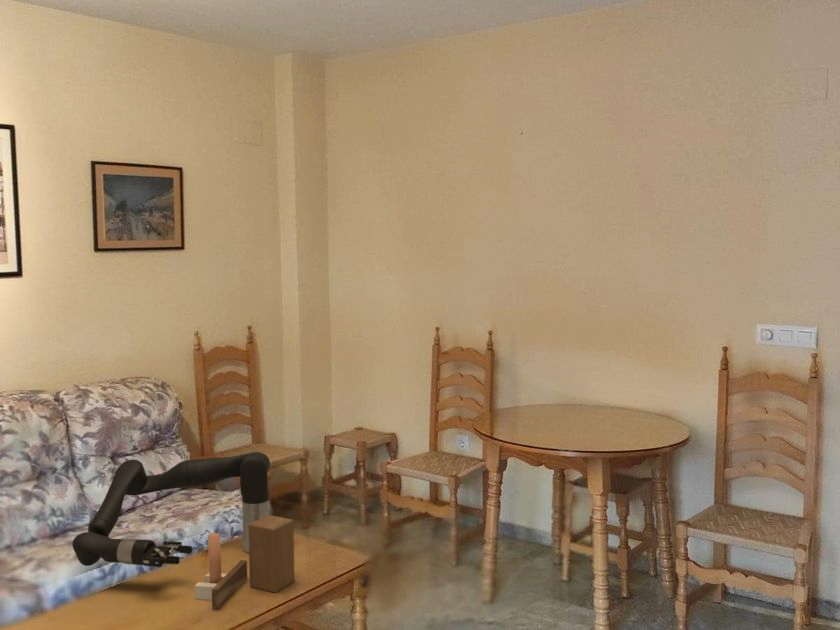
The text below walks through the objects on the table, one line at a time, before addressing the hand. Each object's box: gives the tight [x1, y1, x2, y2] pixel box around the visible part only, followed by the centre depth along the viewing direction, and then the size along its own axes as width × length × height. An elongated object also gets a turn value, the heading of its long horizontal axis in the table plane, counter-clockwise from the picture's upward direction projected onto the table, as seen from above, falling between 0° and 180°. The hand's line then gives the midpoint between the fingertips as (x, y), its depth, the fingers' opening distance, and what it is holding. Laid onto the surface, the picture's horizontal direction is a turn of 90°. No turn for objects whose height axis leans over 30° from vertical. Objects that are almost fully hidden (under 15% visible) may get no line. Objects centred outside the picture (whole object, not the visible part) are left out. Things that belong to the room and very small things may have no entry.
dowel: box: [207, 532, 222, 584], centre depth 248 cm, size 4×4×18 cm
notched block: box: [194, 571, 228, 601], centre depth 249 cm, size 8×10×4 cm
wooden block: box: [248, 514, 295, 593], centre depth 254 cm, size 10×10×20 cm
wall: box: [211, 559, 248, 611], centre depth 248 cm, size 2×22×6 cm, turn 170°
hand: (185, 555), depth 250 cm, fingers open, 8 cm apart
